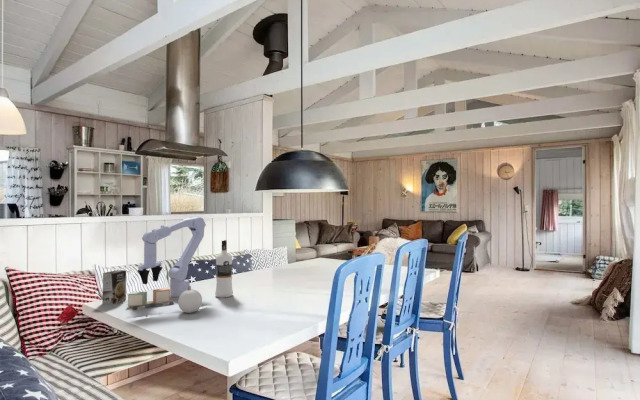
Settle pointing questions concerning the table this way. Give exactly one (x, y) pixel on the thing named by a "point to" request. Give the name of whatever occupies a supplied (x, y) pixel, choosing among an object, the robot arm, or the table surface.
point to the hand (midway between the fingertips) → (150, 282)
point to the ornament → (190, 300)
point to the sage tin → (137, 298)
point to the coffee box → (114, 287)
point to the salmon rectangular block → (161, 295)
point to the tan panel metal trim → (152, 305)
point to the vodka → (224, 273)
